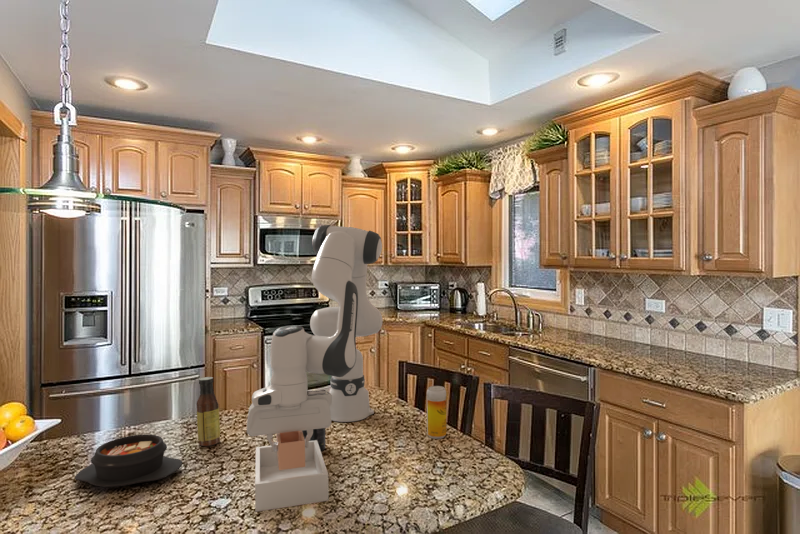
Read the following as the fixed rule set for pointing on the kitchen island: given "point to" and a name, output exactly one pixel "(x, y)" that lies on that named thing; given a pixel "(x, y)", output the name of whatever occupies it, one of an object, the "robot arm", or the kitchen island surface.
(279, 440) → the terracotta crate
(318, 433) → the supplement bottle
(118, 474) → the casserole
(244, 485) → the kitchen island surface
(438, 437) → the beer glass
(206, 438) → the sauce bottle
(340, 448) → the kitchen island surface
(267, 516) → the kitchen island surface
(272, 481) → the grey crate
